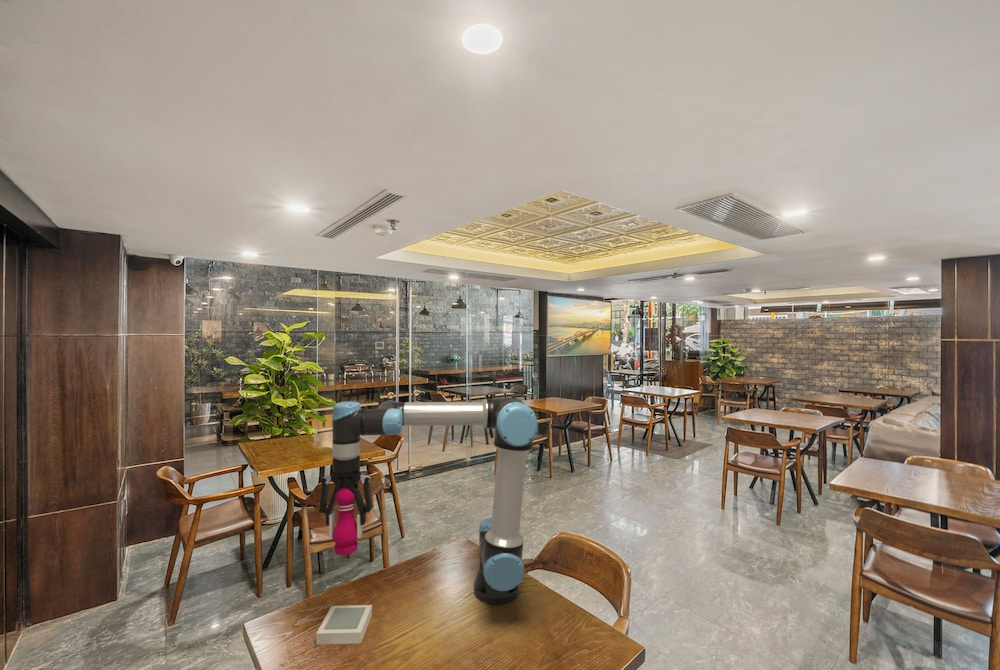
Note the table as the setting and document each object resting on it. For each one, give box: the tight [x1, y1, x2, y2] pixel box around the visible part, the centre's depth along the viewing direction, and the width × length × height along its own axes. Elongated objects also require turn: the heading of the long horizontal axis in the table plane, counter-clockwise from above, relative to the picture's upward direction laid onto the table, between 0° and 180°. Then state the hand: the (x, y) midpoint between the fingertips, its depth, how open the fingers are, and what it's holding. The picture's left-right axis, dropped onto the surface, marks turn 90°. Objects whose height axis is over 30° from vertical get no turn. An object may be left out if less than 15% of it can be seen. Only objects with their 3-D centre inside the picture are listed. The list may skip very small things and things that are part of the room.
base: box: [315, 604, 373, 645], centre depth 123 cm, size 12×12×3 cm
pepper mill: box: [332, 488, 359, 556], centre depth 123 cm, size 7×7×20 cm
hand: (346, 535), depth 123 cm, fingers closed on pepper mill, 7 cm apart
